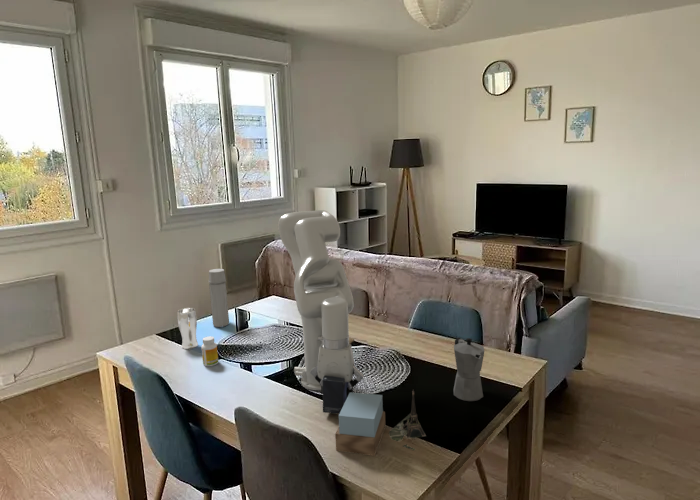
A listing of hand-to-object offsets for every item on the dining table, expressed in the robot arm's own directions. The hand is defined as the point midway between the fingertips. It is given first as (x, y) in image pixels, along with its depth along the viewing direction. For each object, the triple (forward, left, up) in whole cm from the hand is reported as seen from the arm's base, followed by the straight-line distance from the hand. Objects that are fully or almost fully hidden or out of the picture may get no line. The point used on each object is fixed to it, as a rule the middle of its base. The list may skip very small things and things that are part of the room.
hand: (337, 397), depth 142 cm
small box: (0, 0, -2) cm, 2 cm away
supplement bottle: (-54, +21, -4) cm, 59 cm away
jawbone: (-15, +45, -4) cm, 47 cm away
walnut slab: (+10, -13, -4) cm, 17 cm away
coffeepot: (+36, +17, -4) cm, 40 cm away
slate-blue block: (+11, -13, +1) cm, 17 cm away
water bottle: (-71, +59, -4) cm, 93 cm away
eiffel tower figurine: (+23, -7, -4) cm, 24 cm away
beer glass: (-71, +34, -4) cm, 79 cm away
